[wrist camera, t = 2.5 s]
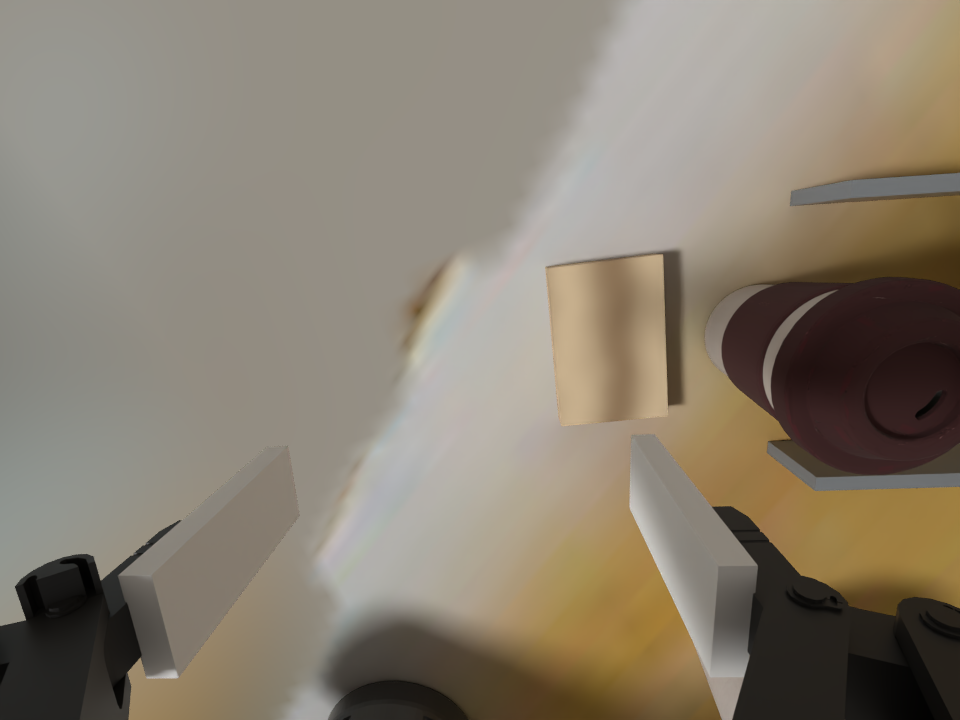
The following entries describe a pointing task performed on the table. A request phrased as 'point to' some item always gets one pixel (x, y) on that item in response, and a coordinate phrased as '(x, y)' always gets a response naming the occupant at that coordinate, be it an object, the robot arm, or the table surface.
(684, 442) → the table surface
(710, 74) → the table surface
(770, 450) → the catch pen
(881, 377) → the coffee cup
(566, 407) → the board
